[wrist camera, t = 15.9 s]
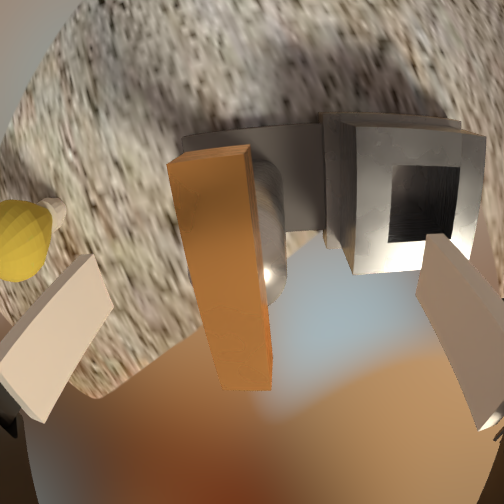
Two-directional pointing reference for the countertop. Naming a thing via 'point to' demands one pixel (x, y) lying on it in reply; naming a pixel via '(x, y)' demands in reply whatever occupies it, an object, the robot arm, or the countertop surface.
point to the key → (233, 255)
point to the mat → (282, 165)
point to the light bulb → (27, 235)
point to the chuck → (398, 186)
